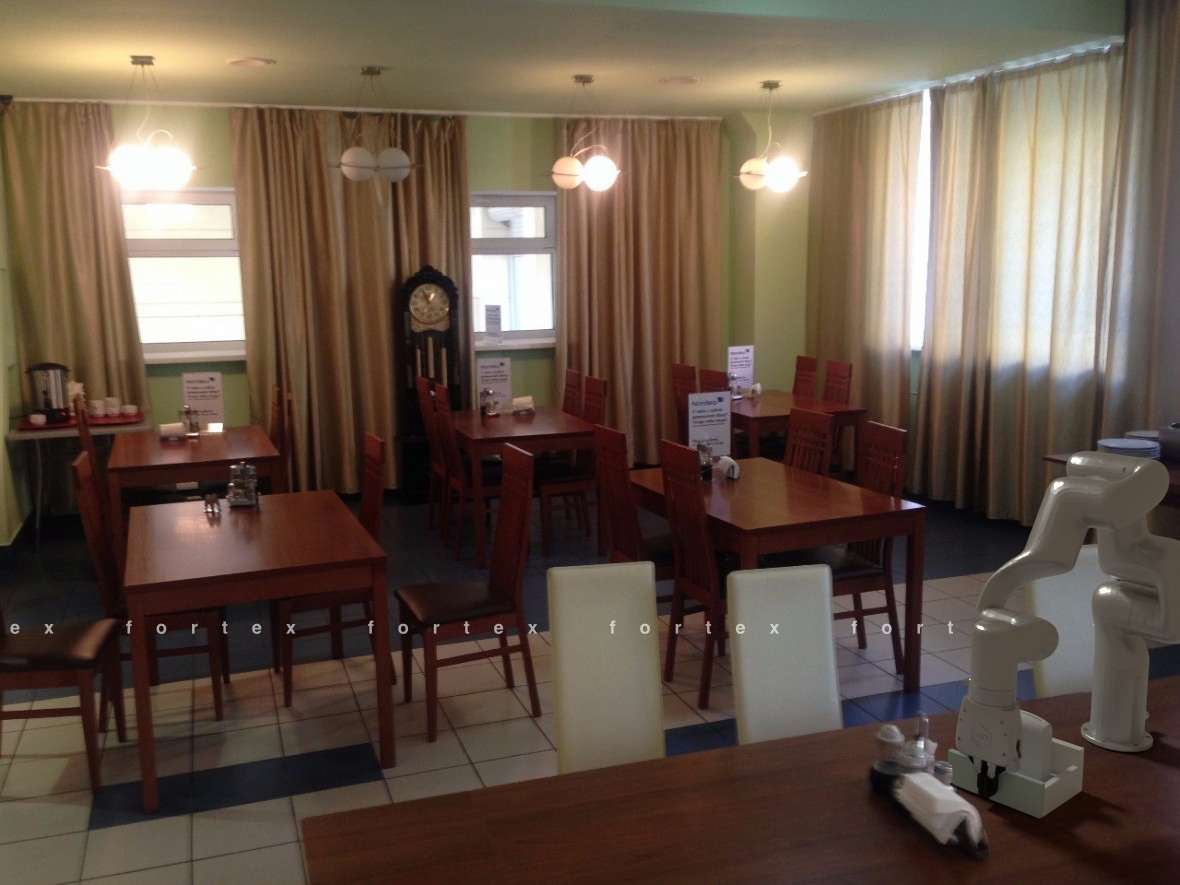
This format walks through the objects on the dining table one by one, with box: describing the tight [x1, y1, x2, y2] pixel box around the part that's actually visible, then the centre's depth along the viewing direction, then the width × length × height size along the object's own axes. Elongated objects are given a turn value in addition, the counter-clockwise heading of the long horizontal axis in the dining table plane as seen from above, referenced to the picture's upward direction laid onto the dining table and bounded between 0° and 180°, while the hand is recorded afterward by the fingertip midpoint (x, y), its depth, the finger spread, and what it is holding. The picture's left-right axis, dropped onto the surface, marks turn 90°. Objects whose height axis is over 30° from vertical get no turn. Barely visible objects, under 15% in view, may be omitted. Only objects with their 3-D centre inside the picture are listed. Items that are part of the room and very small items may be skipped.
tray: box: [947, 748, 1057, 819], centre depth 182 cm, size 14×17×6 cm
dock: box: [1043, 737, 1085, 817], centre depth 183 cm, size 14×17×8 cm
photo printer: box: [1017, 709, 1053, 783], centre depth 183 cm, size 10×4×12 cm, turn 39°
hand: (986, 794), depth 177 cm, fingers closed
